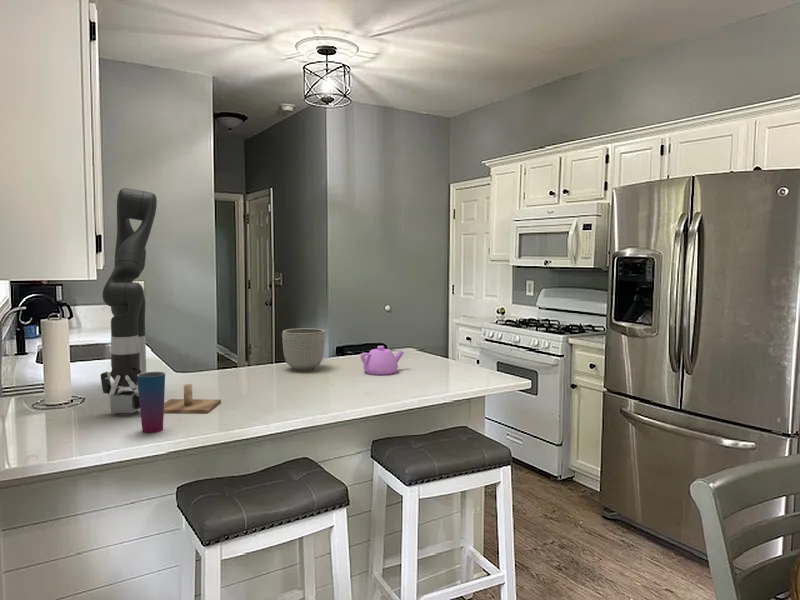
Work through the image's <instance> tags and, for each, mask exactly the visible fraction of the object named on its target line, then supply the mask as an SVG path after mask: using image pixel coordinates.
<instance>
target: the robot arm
mask: <svg viewBox="0 0 800 600" xmlns="http://www.w3.org/2000/svg"><path fill="white" fill-rule="evenodd" d="M157 204H158V200H157V196H156V194H155V193H154V192H150V191H144V190H139V189H133V188H129V187H123V188H121V189H120V190H119V191H118V193H117V197H116V241H115V251H114V268H113V270H112V272H111V274H110V276H109V278H108V280H107V281H106V282H105V285H104V286H103V289H102V294H101V295H102V296H101V297H102V300H103V302H104V304H105V305H106V306H109V307H110V310H111V313H112V317H111V319H110V333H111V337H110V367H111V371H104V372H102V373H100V382H101V389H102V393H103V394H105V395H106V394H107V395H109V397H110V396H111V395H113V394H115V393H117V392H119V391H120V388H121V387H130V389H131V390H133V391H134V392H135V394H136V397H135V402H136V409H139V408H140V401H139V391H138V381H137V375H138V374H140V373H145V372H147V350H146V349H147V347H146V346H147V345H146V344H147V343H146V296H145V291H144V288H143V286H142V284H140V283H138V282H134V280H136V279H138V278H140V276H141V274H142V272H143V271H144V269H145V266H146V257H147V250H146V248H147V247H146V246H147V243H148V240H149V237H150V235H151V230H152V228H153V224H154V220H155V217H156V214H157V213H156V212H157ZM130 220H137V221H141V222H140V224H139V227H138V228H137V229H136V230H135V231H134V229H133V226H132V224H131V221H130ZM111 378H112V379H113V383H112V385H111ZM110 406H111V402H110ZM139 410H140V409H139Z"/></svg>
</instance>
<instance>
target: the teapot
mask: <svg viewBox="0 0 800 600" xmlns="http://www.w3.org/2000/svg"><path fill="white" fill-rule="evenodd" d="M403 355H404V351H402V350H400V349H399V350H398V352H397V353H396V354H395V355H394V352H393V351H392V350H391V349H389V348H385V346H384V345H378V346H377V348H373V349H371V350H370V351H369V352H362V353H360V359H361V362H362V363H363V366H362V367H363V370H364V372H365V373H366V374H368V375H371V374H373V375H374V376H388V375H387V374H390V375H393V374H392V373H394V374H395V373H396V372H397V371H398V369H399V364H398V362H399V360H401V358H402V357H403Z"/></svg>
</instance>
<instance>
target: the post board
mask: <svg viewBox="0 0 800 600" xmlns="http://www.w3.org/2000/svg"><path fill="white" fill-rule="evenodd" d="M220 404H222V399H204V398H203V399H193V384H191V383H187V384H186V383H185V384H183V398H177V399H176V398H171V399H168V400H167V401H164V414H209V413H210V412H211V411H213V410H214V409H215V408H217V406H219V405H220Z"/></svg>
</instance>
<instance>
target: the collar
mask: <svg viewBox="0 0 800 600" xmlns="http://www.w3.org/2000/svg"><path fill="white" fill-rule="evenodd" d="M135 397H136V394H135V392H134V391H133V390H132V389H131V390H129V389H126V390H124V389H122V390H118V392H117V393H115V394H113V395H111V396H110V395H109V399H110V400H109V401H110V403H111V405H110V413H111V414H133V413H135V412H137V411H138V410H140V408H139V409H136V402H135Z"/></svg>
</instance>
